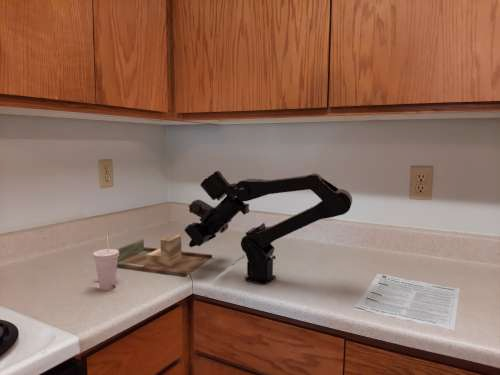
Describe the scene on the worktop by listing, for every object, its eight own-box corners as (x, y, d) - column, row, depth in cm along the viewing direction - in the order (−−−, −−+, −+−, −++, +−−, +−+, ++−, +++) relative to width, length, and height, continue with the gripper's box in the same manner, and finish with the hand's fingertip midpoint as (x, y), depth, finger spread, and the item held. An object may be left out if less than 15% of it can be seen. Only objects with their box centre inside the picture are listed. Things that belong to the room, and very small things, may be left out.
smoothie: (124, 288, 96) (122, 236, 94) (100, 295, 91) (97, 240, 90) (114, 281, 100) (112, 231, 98) (90, 287, 96) (88, 235, 94)
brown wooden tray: (212, 262, 117) (212, 245, 116) (184, 282, 100) (184, 262, 99) (143, 254, 125) (142, 238, 124) (107, 271, 108) (106, 253, 107)
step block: (181, 260, 114) (181, 235, 113) (169, 267, 107) (169, 240, 106) (159, 257, 117) (158, 233, 116) (146, 264, 110) (145, 238, 109)
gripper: (219, 187, 113) (187, 219, 118) (190, 195, 96) (155, 232, 101) (242, 214, 112) (209, 245, 117) (218, 227, 94) (181, 263, 99)
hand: (190, 245), depth 108 cm, fingers closed
